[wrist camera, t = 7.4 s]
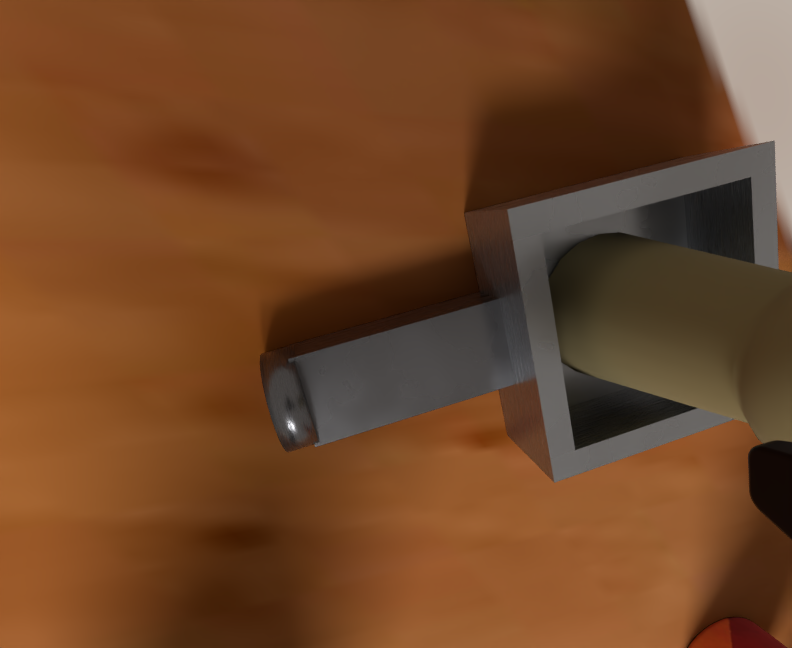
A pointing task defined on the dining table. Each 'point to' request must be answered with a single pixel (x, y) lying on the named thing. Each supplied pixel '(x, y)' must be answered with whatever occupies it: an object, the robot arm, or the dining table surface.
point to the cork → (679, 327)
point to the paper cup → (735, 635)
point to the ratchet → (530, 321)
